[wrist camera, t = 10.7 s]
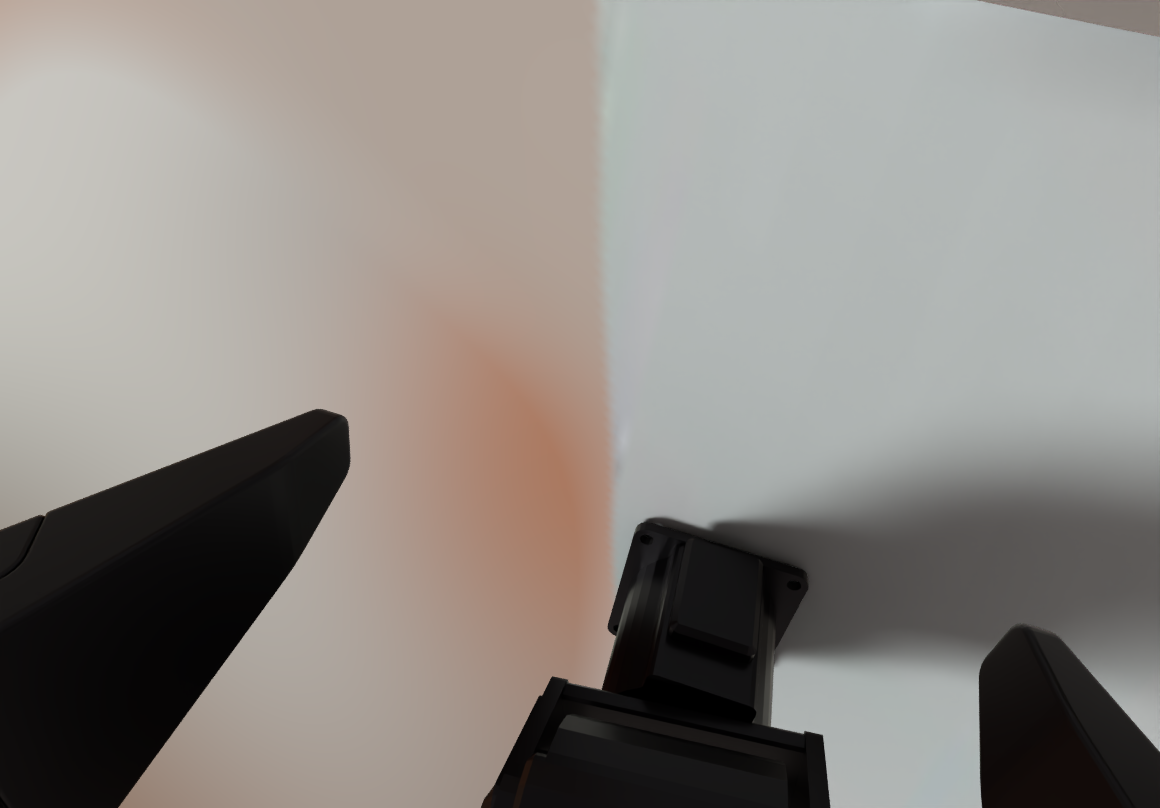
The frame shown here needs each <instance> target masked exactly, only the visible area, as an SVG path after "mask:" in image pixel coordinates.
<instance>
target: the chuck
mask: <svg viewBox="0 0 1160 808" xmlns="http://www.w3.org/2000/svg"><path fill="white" fill-rule="evenodd" d="M978 1H983V2H988V3H993V4H998V5H1003V6H1008V7H1013V8H1018V9H1023V10H1028V11H1033V12H1038V13H1043V14H1048V15H1053V16H1058V17H1063V18H1068V19H1073V20H1078V21H1083V22H1088V23H1093V24H1098V25H1103V26H1108V27H1113V28H1118V29H1123V30H1128V31H1133V32H1138V33H1143V34H1148V35H1153V36H1158V37H1160V0H978Z"/></svg>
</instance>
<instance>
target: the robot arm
mask: <svg viewBox="0 0 1160 808" xmlns="http://www.w3.org/2000/svg"><path fill="white" fill-rule="evenodd" d="M349 467H350V442H349V426H348V421H347V419H346V418H345V417H344V416H342V415H340V414H336V413H333V412H330V411H327V410H323V409H315V410H312V411H309V412H307V413H304V414H301V415H299V416H296V417H294V418H291V419H288V420H286V421H283V422H281V423H278V424H275V425H273V426H270V427H268V428H265V429H262V430H260V431H258V432H255V433H252V434H249V435H247V436H244V437H241V438H239V439H237V440H234V441H231V442H228V443H226V444H224V445H221V446H218V447H216V448H213V449H210V450H208V451H205V452H203V453H200V454H198V455H195V456H192V457H190V458H187V459H185V460H182V461H180V462H177V463H174V464H171V465H169V466H166V467H163V468H161V469H158V470H156V471H153V472H150V473H148V474H145V475H143V476H140V477H137V478H135V479H132V480H130V481H127V482H124V483H122V484H119V485H117V486H114V487H112V488H109V489H106V490H104V491H101V492H99V493H96V494H94V495H91V496H88V497H85V498H83V499H80V500H78V501H75V502H72V503H70V504H67V505H65V506H62V507H59V508H57V509H54V510H52V511H49V512H48V513H47V514H46V516H43V515H38V516H36V517H33V518H30V519H28V520H25V521H22V522H20V523H18V524H15V525H12V526H10V527H7V528H4V529H1V530H0V808H118V807H119V806H120V805H121V803H122V802H123V800H124V799H125V798H126V796H127V795H128V794H129V792H130V791H131V790H132V788H133V787H134V785H135V784H136V783H137V781H138V780H139V779H140V777H141V776H142V774H143V773H144V772H145V770H146V769H147V767H148V766H149V765H150V764H151V762H152V761H153V759H154V758H155V757H156V755H157V754H158V753H159V751H160V750H161V748H162V747H163V746H164V744H165V743H166V742H167V740H168V739H169V738H170V736H171V735H172V733H173V732H174V731H175V729H176V728H177V727H178V725H179V724H180V722H181V721H182V720H183V718H184V717H185V716H186V714H187V712H188V711H189V710H190V709H191V707H192V706H193V705H194V703H195V702H196V701H197V699H198V698H199V696H200V695H201V694H202V692H203V691H204V689H205V688H206V687H207V686H208V684H209V683H210V681H211V679H213V677H214V676H215V674H216V673H217V672H218V670H219V669H220V668H221V666H222V665H223V663H224V662H225V661H226V659H227V658H228V657H229V655H230V654H231V653H232V651H233V650H234V649H235V647H236V646H237V644H238V643H239V642H240V640H241V639H242V638H243V636H244V635H245V633H246V632H247V631H248V629H249V628H250V627H251V625H252V624H253V623H254V621H255V620H256V618H257V617H258V616H259V614H260V613H261V611H262V610H263V609H264V607H265V606H266V605H267V603H268V602H269V600H270V599H271V597H273V595H274V594H275V592H276V591H277V589H278V588H279V587H280V585H281V584H282V583H283V581H284V580H285V579H286V577H287V576H288V574H289V573H290V571H291V570H292V569H293V567H294V566H295V564H296V562H297V561H298V559H299V558H300V556H301V554H302V552H303V551H304V549H305V548H306V546H307V544H308V542H309V541H310V539H311V537H312V535H313V534H314V531H315V530H316V528H317V527H318V525H319V523H320V521H321V519H322V518H323V516H324V514H325V512H326V511H327V509H328V507H329V506H330V504H331V502H332V500H333V498H334V497H335V495H336V493H337V492H338V490H339V488H340V486H341V484H342V483H343V481H344V479H345V477H346V475H347V473H348V470H349ZM644 535H649V536H651V537H646V536H644ZM792 580H794V581H798V582H791V581H792ZM807 590H808V575H807V573H806V572H805V571H803V570H801V569H799V568H796V567H793V566H790V565H786V564H783V563H780V562H777V561H773V560H770V559H767V558H764V557H760V556H757V555H754V554H751V553H747V552H744V551H741V550H738V549H734V548H731V547H728V546H725V545H721V544H718V543H715V542H712V541H708V540H705V539H702V538H698V537H695V536H692V535H689V534H685V533H682V532H679V531H676V530H672V529H669V528H666V527H663V526H659V525H656V524H653V523H648V522H645V523H641V524H639V525H638V526H637V527H636V529H635V533H634V536H633V540H632V543H631V547H630V550H629V554H628V557H627V560H626V564H625V567H624V571H623V574H622V578H621V581H620V585H619V588H618V592H617V595H616V598H615V602H614V605H613V609H612V612H611V616H610V619H609V623H608V630H609V631H610V632H611V633H612V634H613V635H615V636H616V639H615V642H614V646H613V650H612V653H611V658H610V661H609V665H608V668H607V672H606V675H605V679H604V683H603V686H602V690H600V689H595V688H590V687H586V686H581V685H577V684H571V683H568V680H567V679H562V678H558V677H552V678H551V679H550V681H549V683H548V685H547V687H546V689H545V691H544V694H543V695H542V696H539V697H538V699H537V701H536V703H535V705H534V707H533V709H532V711H531V713H530V715H529V717H528V719H527V721H526V723H525V725H524V727H523V729H522V731H521V733H520V735H519V737H518V739H517V741H516V743H515V745H514V747H513V749H512V751H511V753H510V755H509V757H508V759H507V761H506V763H505V765H504V767H503V769H502V771H501V773H500V775H499V777H498V779H497V781H496V783H495V785H494V786H493V788H492V789H491V790H490V792H489V793H488V795H487V796H486V797H485V799H484V801H483V803H482V806H481V808H830V800H829V790H828V780H827V770H826V761H825V751H824V741H823V735H821V734H816V733H811V732H807V731H804V734H802V733H797V732H792V731H788V730H783V729H779V728H774V727H771V713H772V692H773V672H774V651H775V649H776V647H777V645H778V644H779V642H780V640H781V638H782V636H783V634H784V632H785V631H786V629H787V627H788V625H789V623H790V621H791V620H792V618H793V616H794V614H795V612H796V610H797V608H798V607H799V605H800V603H801V601H802V599H803V597H804V596H805V594H806V592H807ZM979 724H980V783H981V800H982V808H1160V752H1159V751H1158V749H1157V748H1156V747H1155V746H1154V745H1153V744H1152V743H1151V741H1150V740H1149V739H1148V738H1147V737H1146V736H1145V735H1144V733H1143V732H1142V731H1141V730H1140V729H1139V728H1138V727H1137V725H1136V724H1135V723H1134V722H1133V721H1132V720H1131V718H1130V717H1129V716H1128V715H1127V714H1126V713H1125V712H1124V710H1123V709H1122V708H1121V707H1120V706H1119V705H1118V704H1117V702H1116V701H1115V700H1114V699H1113V698H1112V697H1111V696H1110V694H1109V693H1108V692H1107V691H1106V690H1105V689H1104V688H1103V686H1102V685H1101V684H1100V683H1099V682H1098V681H1097V680H1096V678H1095V677H1094V676H1093V675H1092V674H1091V673H1090V672H1089V670H1088V669H1087V668H1086V667H1085V666H1084V665H1083V664H1082V662H1081V661H1080V660H1079V659H1078V658H1077V657H1076V656H1075V654H1074V653H1073V652H1072V651H1071V650H1070V649H1069V648H1068V646H1067V645H1066V644H1065V643H1064V642H1063V641H1062V640H1061V639H1060V638H1059V637H1058V636H1057V635H1056V634H1054V633H1052V632H1050V631H1047V630H1044V629H1041V628H1037V627H1034V626H1031V625H1027V624H1017V625H1015V626H1013V627H1012V628H1011V629H1010V630H1009V631H1008V632H1007V633H1006V635H1005V636H1004V637H1003V638H1002V639H1001V640H1000V642H999V643H998V644H997V645H996V646H995V647H994V649H993V650H992V651H991V652H990V653H989V654H988V655H987V657H986V658H985V659H984V661H983V663H982V665H981V668H980V673H979Z"/></svg>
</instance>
